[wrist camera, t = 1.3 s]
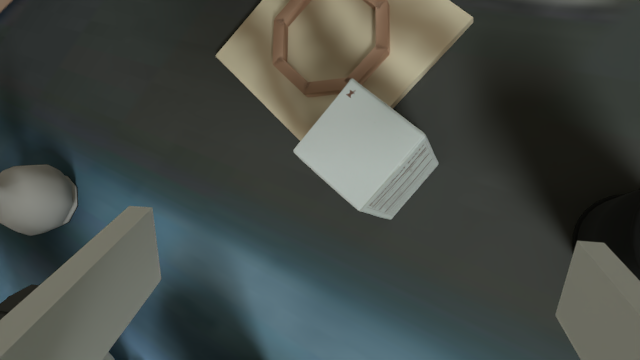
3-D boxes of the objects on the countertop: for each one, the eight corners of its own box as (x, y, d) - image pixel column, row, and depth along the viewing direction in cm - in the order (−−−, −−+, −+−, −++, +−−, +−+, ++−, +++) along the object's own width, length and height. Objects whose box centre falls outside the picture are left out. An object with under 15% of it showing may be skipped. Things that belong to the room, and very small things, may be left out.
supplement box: (337, 174, 46) (288, 149, 34) (385, 118, 45) (351, 73, 33) (390, 223, 43) (357, 214, 31) (442, 165, 42) (428, 133, 31)
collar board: (335, -77, 50) (329, -91, 48) (473, 22, 43) (473, 11, 41) (219, 59, 53) (209, 51, 51) (333, 172, 46) (326, 168, 44)
